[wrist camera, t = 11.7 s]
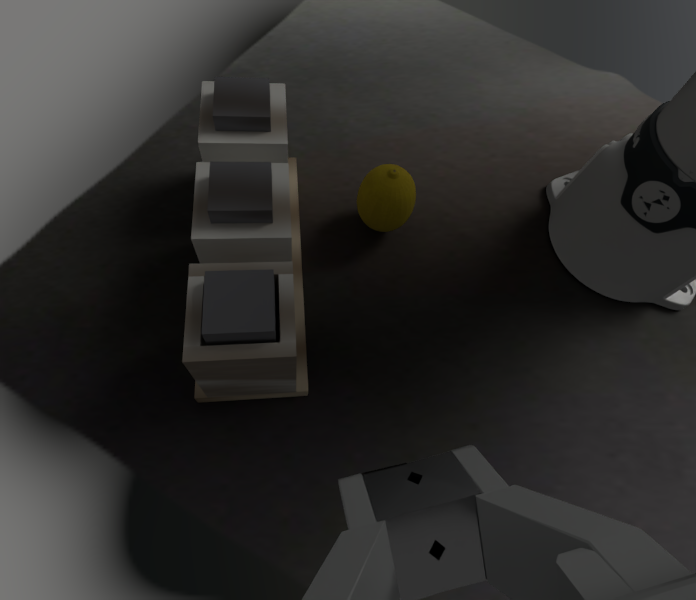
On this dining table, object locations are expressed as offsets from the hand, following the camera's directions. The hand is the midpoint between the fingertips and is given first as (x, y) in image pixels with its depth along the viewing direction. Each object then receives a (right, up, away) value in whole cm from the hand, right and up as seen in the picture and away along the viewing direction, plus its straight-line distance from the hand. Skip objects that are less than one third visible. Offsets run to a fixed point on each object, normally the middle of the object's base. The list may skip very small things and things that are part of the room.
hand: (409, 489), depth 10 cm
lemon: (+2, +12, +37) cm, 39 cm away
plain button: (-9, +1, +25) cm, 26 cm away
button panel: (-10, +7, +33) cm, 35 cm away
